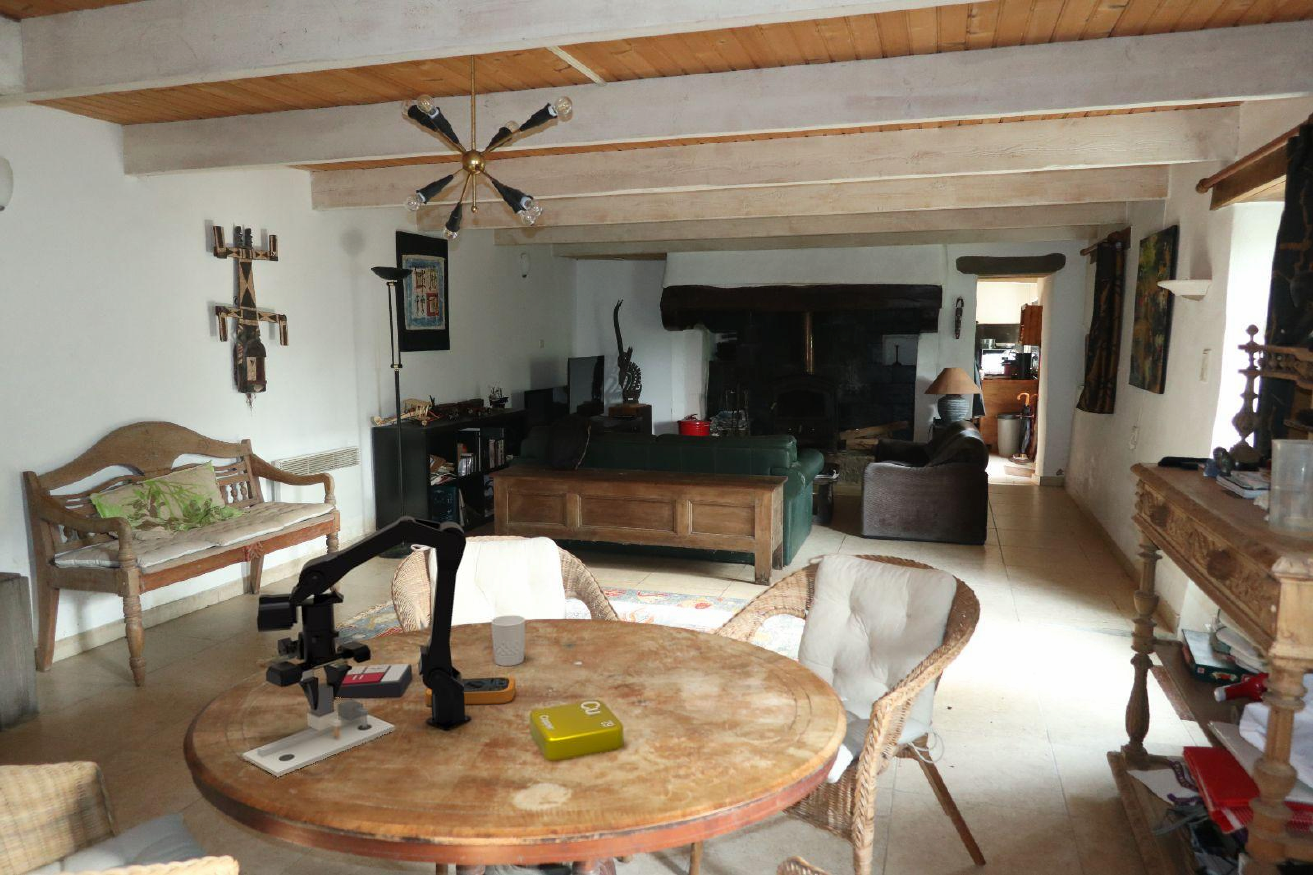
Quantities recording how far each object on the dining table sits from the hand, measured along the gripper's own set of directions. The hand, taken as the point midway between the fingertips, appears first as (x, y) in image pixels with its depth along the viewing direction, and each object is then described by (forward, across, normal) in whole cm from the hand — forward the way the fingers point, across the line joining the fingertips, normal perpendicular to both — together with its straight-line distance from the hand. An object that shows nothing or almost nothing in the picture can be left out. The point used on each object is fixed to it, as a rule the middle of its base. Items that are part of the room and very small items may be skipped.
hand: (322, 706), depth 169 cm
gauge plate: (+6, +2, +2) cm, 7 cm away
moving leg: (+5, 0, +2) cm, 5 cm away
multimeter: (+7, -30, +8) cm, 32 cm away
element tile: (+7, -28, +39) cm, 49 cm away
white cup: (+6, -50, -2) cm, 50 cm away
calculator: (+7, -20, -14) cm, 26 cm away
